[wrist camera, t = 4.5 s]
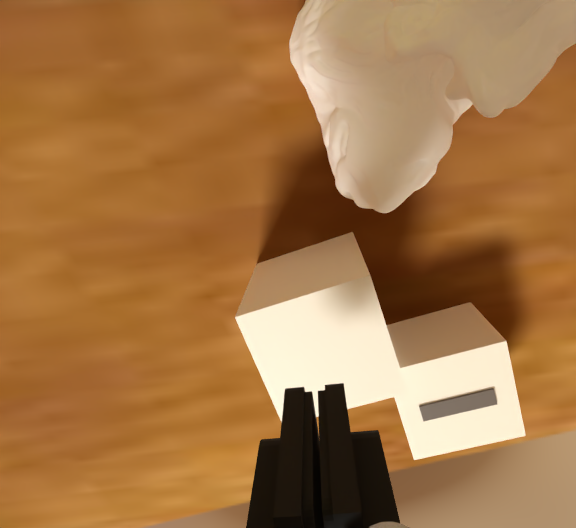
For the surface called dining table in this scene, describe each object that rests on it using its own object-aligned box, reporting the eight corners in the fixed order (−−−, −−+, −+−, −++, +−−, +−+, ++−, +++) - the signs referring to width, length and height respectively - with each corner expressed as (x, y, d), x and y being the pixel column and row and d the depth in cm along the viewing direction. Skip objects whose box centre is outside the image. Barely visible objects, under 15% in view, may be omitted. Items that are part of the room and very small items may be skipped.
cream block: (352, 231, 19) (370, 274, 13) (381, 320, 20) (408, 393, 15) (256, 263, 20) (235, 317, 14) (290, 346, 21) (283, 425, 16)
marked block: (471, 300, 20) (509, 341, 16) (489, 381, 21) (528, 436, 17) (372, 327, 21) (387, 373, 17) (396, 403, 22) (414, 461, 18)
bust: (374, 188, 20) (661, 215, 12) (246, 213, 16) (530, 284, 8) (373, -98, 17) (800, -391, 8) (206, -154, 13) (684, -890, 4)
